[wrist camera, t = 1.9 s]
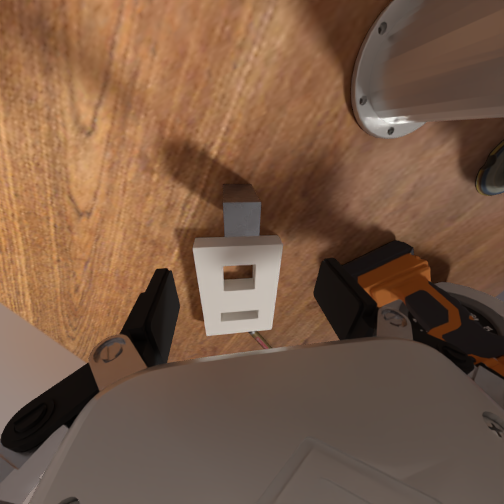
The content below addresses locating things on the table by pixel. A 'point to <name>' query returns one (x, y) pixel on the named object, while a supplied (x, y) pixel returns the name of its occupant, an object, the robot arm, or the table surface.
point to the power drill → (426, 302)
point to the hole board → (238, 282)
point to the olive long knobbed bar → (260, 339)
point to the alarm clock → (476, 302)
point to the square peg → (241, 210)
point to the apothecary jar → (492, 173)
